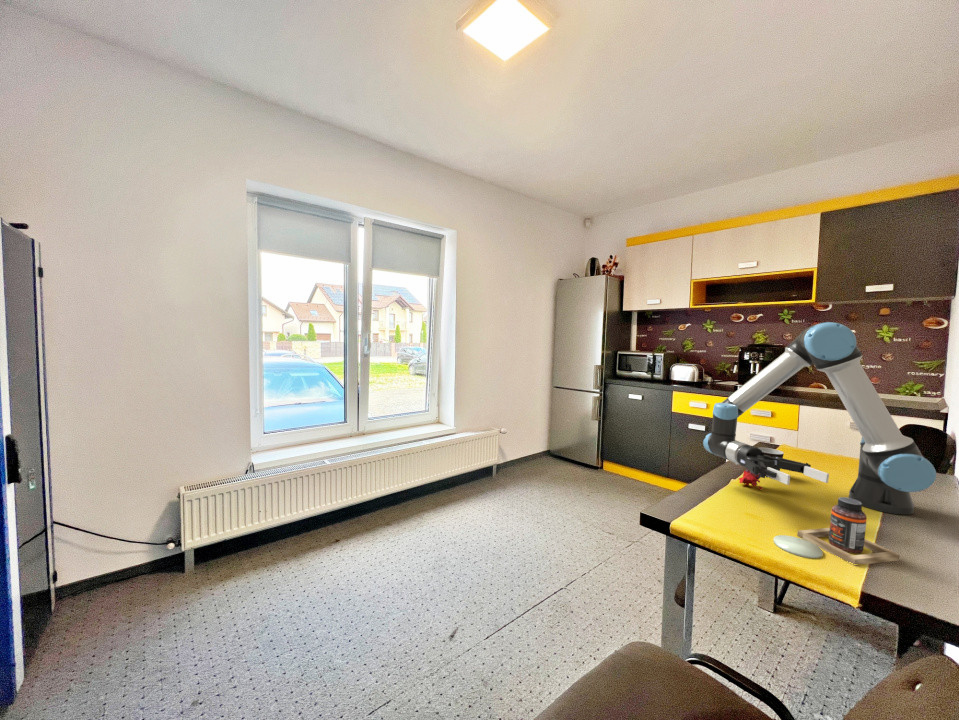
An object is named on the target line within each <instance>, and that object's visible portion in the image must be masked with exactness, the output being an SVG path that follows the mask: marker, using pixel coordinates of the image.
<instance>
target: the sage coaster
mask: <svg viewBox="0 0 959 720" xmlns="http://www.w3.org/2000/svg"><path fill="white" fill-rule="evenodd" d="M773 543H774V545H775V546H776V547H778V548H779V549H781V550H782V551H784V552H787V553H789V554H791V555H794V556H798V557H801V558H807V559H820V558H822V557H823V555H824V554H823V553H824V552H823V549H822V548H820V547H818V546H816V545H815V544H813V543H811V542H808V541H806V540H804V539H802V538H801V537H798V536H797V537H796V536H792V535H784V534H783V535H782V534H781V535H776V536H774V537H773Z"/></svg>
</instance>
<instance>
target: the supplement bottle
mask: <svg viewBox="0 0 959 720" xmlns="http://www.w3.org/2000/svg"><path fill="white" fill-rule="evenodd" d="M862 509H863V506H862V503H861V502H860V501H858V500H855V499H851V498H849V497H847V496H846V497H845V496H841V497H838V500H837V504H835V505H833V506H832V508H831V513H830V520H829V521H830V524H829V528H830V531H829V536H828V543H829V544H831V545H833V546H835V547H837V548H839V549H841V550H843V551H845V552H847V553H849V552H850V553H849V554H861V553H863V552H864V548H865V547H864V540H865V539H866V537H865V536H866V529H867V521H868V520H867V518H868V517H867V514H866V513H865V512H864V511H863V510H862Z"/></svg>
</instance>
